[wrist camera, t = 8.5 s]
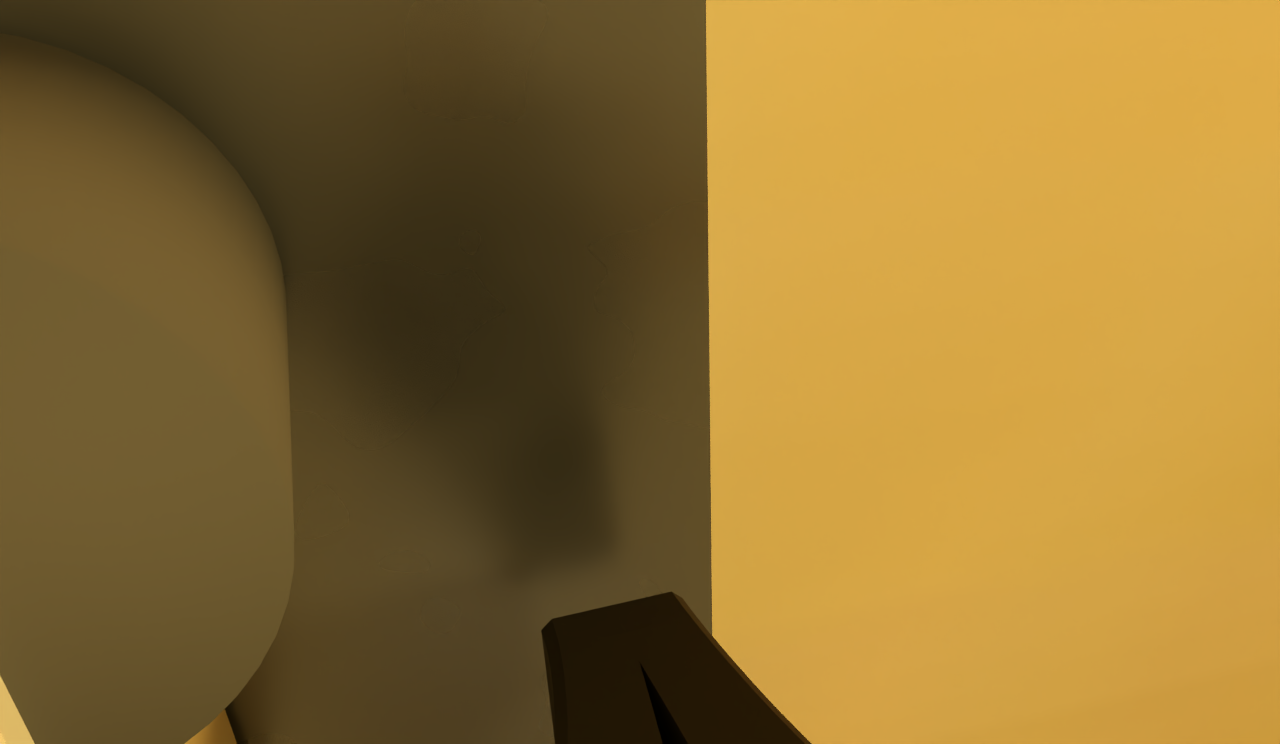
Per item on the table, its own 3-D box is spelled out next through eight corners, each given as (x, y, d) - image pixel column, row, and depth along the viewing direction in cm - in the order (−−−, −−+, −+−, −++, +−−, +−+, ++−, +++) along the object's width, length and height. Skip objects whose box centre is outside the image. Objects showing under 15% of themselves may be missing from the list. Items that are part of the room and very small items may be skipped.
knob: (-493, 66, 7) (-980, 328, 4) (216, -9, 8) (191, 168, 5) (3, 900, 12) (-76, 1275, 9) (409, 796, 13) (449, 1109, 10)
